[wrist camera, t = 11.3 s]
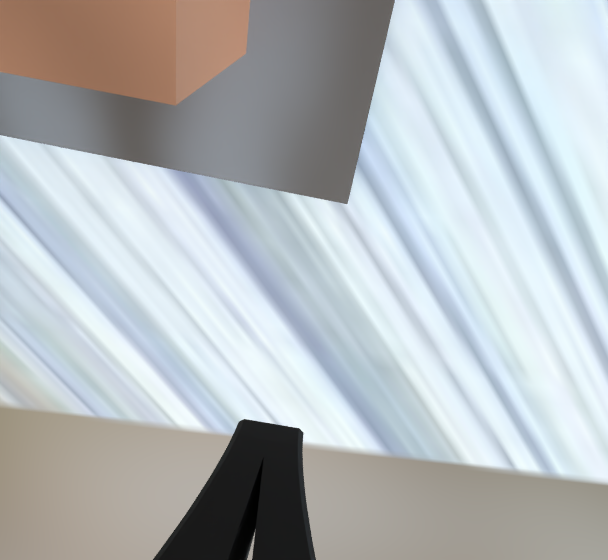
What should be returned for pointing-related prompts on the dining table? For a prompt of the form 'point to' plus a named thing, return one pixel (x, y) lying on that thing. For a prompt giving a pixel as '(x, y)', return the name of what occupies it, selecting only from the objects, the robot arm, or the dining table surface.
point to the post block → (236, 105)
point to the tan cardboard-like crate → (124, 43)
